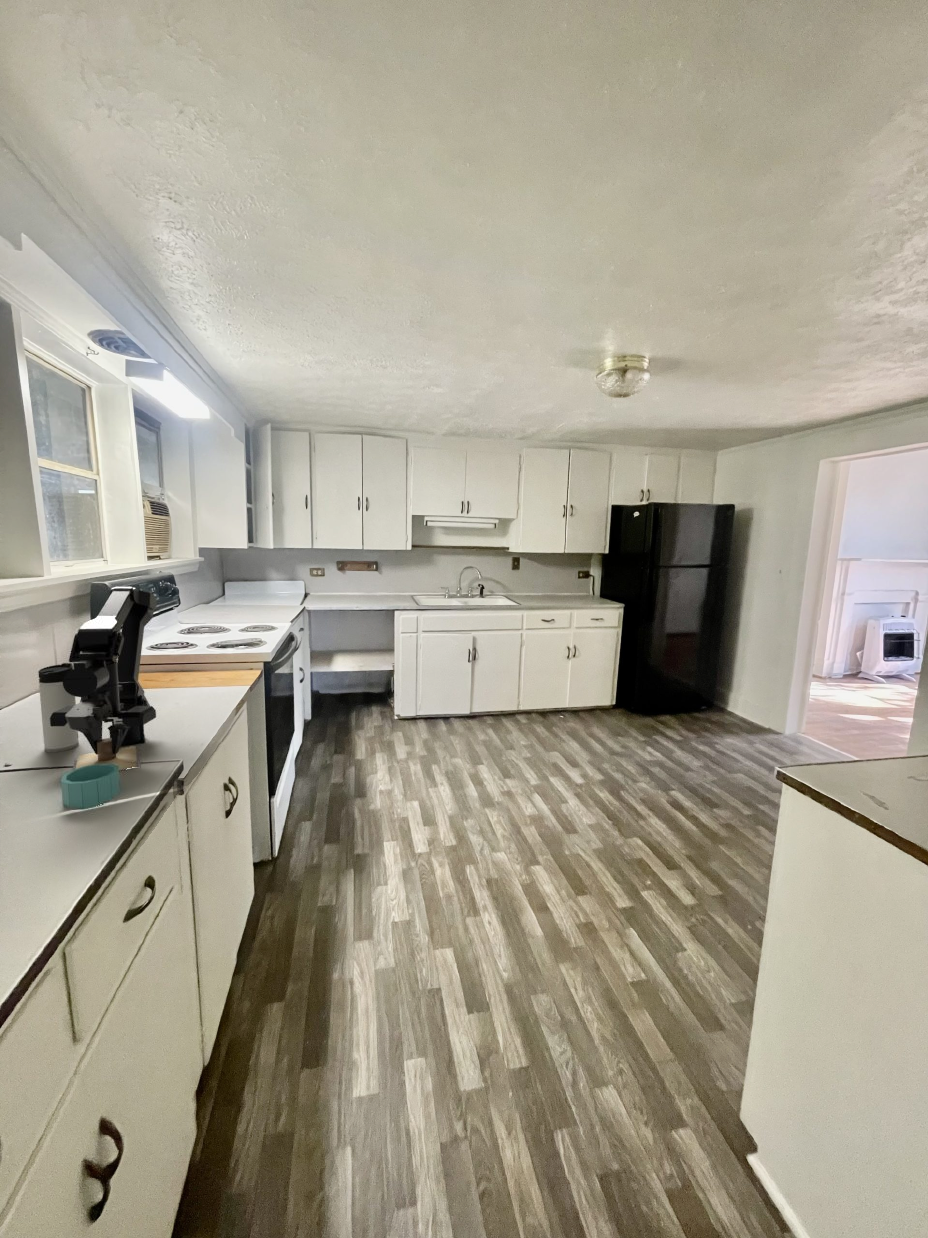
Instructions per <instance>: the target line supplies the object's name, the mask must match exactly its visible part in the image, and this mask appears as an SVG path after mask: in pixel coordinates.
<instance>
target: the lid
mask: <svg viewBox="0 0 928 1238" xmlns="http://www.w3.org/2000/svg"><path fill="white" fill-rule="evenodd" d="M136 747H137V745H130V746H124V747H120V749H119V751H118V753H117V754H113V751H112V738H110V737H108V738H102V739H101V740H99V741H97V751H98V755H96V754H95V752H90V753H85V754H84V753H83V754H78V756H77V759H78V760H77V759H76V760H77V765H76V769H78V768H81V767H85V766H90V765H95V764H114V765H117V766H118V770H123V769H127V768H132V767H137V759H136V750H137V748H136Z"/></svg>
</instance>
